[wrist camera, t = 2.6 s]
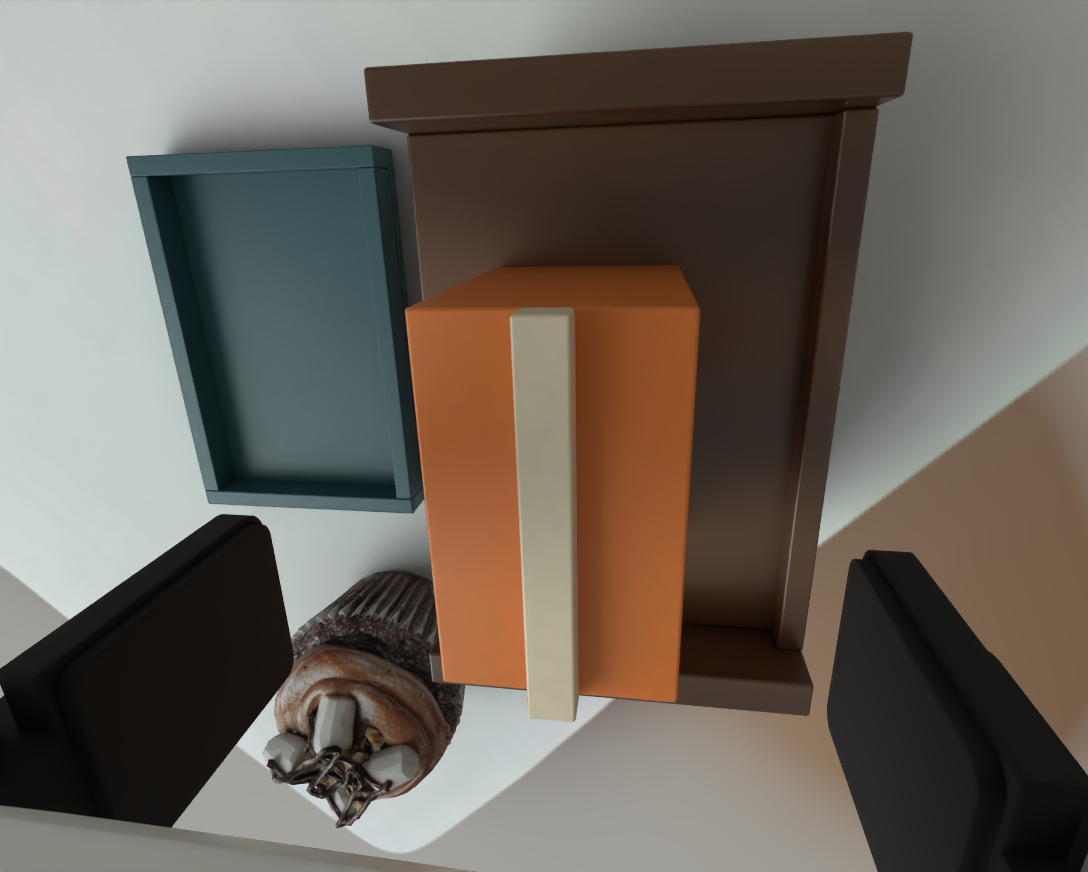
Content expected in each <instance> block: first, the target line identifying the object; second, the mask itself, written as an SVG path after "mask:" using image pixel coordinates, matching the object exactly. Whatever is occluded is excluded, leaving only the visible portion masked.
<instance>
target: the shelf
mask: <svg viewBox="0 0 1088 872" xmlns="http://www.w3.org/2000/svg"><path fill="white" fill-rule="evenodd" d="M912 39H913V34H912V33H911V32H895V33H880V34H865V35H850V36H835V37H820V38H804V39H789V40H774V41H759V42H744V43H729V44H713V45H698V46H683V47H668V48H653V49H638V50H622V51H607V52H592V53H577V54H562V55H547V56H531V57H516V58H501V59H486V60H471V61H456V62H440V63H425V64H410V65H395V66H380V67H367V68H365V69H364V75H365V84H366V93H367V102H368V111H369V120H370V122H371V123H372V124H375V125H379V126H382V127H386V128H389V129H393V130H396V131H400V132H403V133H407V134H410V135H408V136H407V143H408V154H409V165H410V175H411V186H412V197H413V207H414V218H415V229H416V239H417V250H418V261H419V271H420V282H421V293H422V301H423V300H426V299H428V298H430V297H433V296H435V295H437V294H439V293H442V292H444V291H446V290H448V289H451V288H453V287H455V286H457V285H460V284H462V283H464V282H466V281H469V280H471V279H473V278H475V277H478V276H480V275H482V274H484V273H487V272H489V271H491V270H494V269H496V268H498V267H539V266H610V265H678V266H679V268H680V270H681V272H682V274H683V276H684V278H685V280H686V282H687V284H688V286H689V288H690V290H691V292H692V294H693V296H694V298H695V300H696V302H697V304H698V306H699V308H700V324H699V341H698V358H697V375H696V392H695V409H694V426H693V443H692V460H691V477H690V494H689V511H688V528H687V545H686V562H685V579H684V596H683V613H682V630H681V647H680V664H679V681H678V698H677V701H676V702H663V701H652V700H641V699H630V698H619V697H608V696H597V695H585V694H579V695H582V696H594V697H605V698H616V699H627V700H639V701H649V702H661V703H671V704H682V705H693V706H704V707H715V708H726V709H737V710H749V711H760V712H771V713H781V714H793V715H804V716H807V715H809V712H810V706H811V699H812V693H813V684H812V680H811V678H810V675H809V672H808V669H807V666H806V664H805V660H804V657H803V654H802V649H803V642H804V635H805V628H806V621H807V614H808V607H809V600H810V593H811V586H812V579H813V572H814V565H815V558H816V550H817V544H818V537H819V530H820V523H821V515H822V508H823V501H824V494H825V487H826V480H827V473H828V466H829V459H830V452H831V445H832V438H833V431H834V424H835V417H836V410H837V402H838V395H839V388H840V381H841V374H842V367H843V360H844V353H845V346H846V339H847V332H848V325H849V318H850V311H851V304H852V297H853V290H854V282H855V275H856V268H857V261H858V254H859V247H860V240H861V233H862V226H863V219H864V212H865V205H866V198H867V191H868V184H869V177H870V170H871V162H872V155H873V148H874V141H875V134H876V127H877V120H878V113H879V110H878V108H877V107H876V106H879V105H881V104H884V103H886V102H888V101H891V100H893V99H896V98H898V97H900V96H902V95H903V94H904V91H905V85H906V78H907V72H908V65H909V59H910V52H911V46H912ZM429 657H430V666H431V675H432V681H433V682H439V683H450V684H461V685H472V686H483V687H494V688H505V689H516V690H527V689H519V688H508V687H497V686H486V685H475V684H463V683H452V682H445V681H444V680H443V672H442V663H441V653H440V643H439V634H438V637H437V639H436V641H435V643H434V645H433V647H432V649H431V651H430V653H429Z"/></svg>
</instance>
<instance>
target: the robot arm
mask: <svg viewBox="0 0 1088 872" xmlns="http://www.w3.org/2000/svg"><path fill="white" fill-rule="evenodd" d="M293 663H294V652H293V647H292V642H291V637H290V632H289V627H288V621H287V616H286V611H285V606H284V601H283V596H282V590H281V585H280V580H279V575H278V570H277V565H276V560H275V554H274V549H273V544H272V539H271V534H270V531H269V529H268V528H267V526H265V525H262V523H261V521H260V520H259V519H258V518H257V517H255V516H247V515H229V514H221V515H219V516H216V517H215V518H213V519H212V520H211V521H209V522H208V523H206V524H205V525H203V526H202V527H201V528H199V529H198V530H196V531H195V532H194V533H192V534H191V535H189V536H188V537H186V538H185V539H184V540H182V541H181V542H179V543H178V544H176V545H175V546H174V547H172V548H171V549H169V550H168V551H167V552H165V553H164V554H162V555H161V556H159V557H158V558H157V559H155V560H154V561H152V562H151V563H149V564H148V565H147V566H145V567H144V568H142V569H141V570H140V571H138V572H137V573H135V574H134V575H132V576H131V577H130V578H128V579H127V580H125V581H124V582H122V583H121V584H120V585H118V586H117V587H115V588H114V589H113V590H111V591H110V592H108V593H107V594H105V595H104V596H103V597H101V598H100V599H98V600H97V601H96V602H94V603H93V604H91V605H90V606H88V607H87V608H86V609H84V610H83V611H81V612H80V613H78V614H77V615H76V616H74V617H73V618H71V619H70V620H69V621H67V622H66V623H64V624H63V625H61V626H60V627H59V628H57V629H56V630H55V631H53V632H51V633H50V634H49V635H47V636H46V637H44V638H43V639H42V640H40V641H39V642H37V643H36V644H34V645H33V646H32V647H30V648H29V649H28V650H26V651H24V652H23V653H22V654H20V655H19V656H17V657H16V658H15V659H14V660H12V661H10V662H9V663H8V664H6V665H5V666H3V667H2V668H0V685H1V688H2V690H3V693H4V696H3V697H2V698H0V872H475V871H468V870H461V869H455V868H448V867H441V866H434V865H427V864H420V863H414V862H407V861H400V860H393V859H386V858H378V857H373V856H366V855H359V854H351V853H345V852H337V851H331V850H324V849H317V848H310V847H303V846H296V845H290V844H283V843H276V842H269V841H262V840H255V839H248V838H240V837H233V836H226V835H219V834H212V833H205V832H198V831H190V830H182V829H176V828H171V827H172V826H173V825H174V823H175V822H176V821H177V820H178V818H179V817H180V816H181V814H182V813H183V812H184V811H185V809H186V808H187V807H188V805H189V804H190V803H191V802H192V800H193V799H194V798H195V796H196V795H197V794H198V793H199V791H200V790H201V789H202V787H203V786H204V785H205V784H206V782H207V781H208V780H209V778H210V777H211V776H212V775H213V773H214V772H215V771H216V769H217V768H218V767H219V766H220V764H221V763H222V762H223V760H224V759H225V758H226V756H227V755H228V754H229V753H230V751H231V750H232V749H233V747H234V746H235V745H236V744H237V742H238V741H239V740H240V739H241V737H242V736H243V735H244V733H245V732H246V731H247V730H248V728H249V727H250V726H251V724H252V723H253V722H254V721H255V719H256V718H257V717H258V715H259V714H260V713H261V712H262V710H263V709H264V708H265V706H266V705H267V704H268V703H269V701H270V700H271V699H272V697H273V696H274V695H275V694H276V692H277V691H278V690H279V688H280V687H281V686H282V685H283V683H284V682H285V681H286V679H287V678H288V677H289V675H290V673H291V670H292V667H293ZM827 719H828V726H829V730H830V733H831V736H832V739H833V742H834V745H835V748H836V751H837V754H838V757H839V760H840V763H841V766H842V769H843V771H844V774H845V777H846V780H847V783H848V786H849V789H850V792H851V795H852V798H853V801H854V804H855V806H856V810H857V812H858V815H859V818H860V821H861V824H862V827H863V830H864V833H865V836H866V839H867V842H868V845H869V848H870V850H871V853H872V856H873V859H874V862H875V865H876V868H877V871H878V872H1088V775H1087V774H1086V773H1085V771H1084V770H1083V769H1082V767H1081V766H1080V765H1079V763H1078V762H1077V761H1076V760H1075V758H1074V757H1073V756H1072V754H1071V753H1070V752H1069V751H1068V749H1067V748H1066V747H1065V745H1064V744H1063V743H1062V742H1061V740H1060V739H1059V738H1058V736H1057V735H1056V734H1055V732H1054V731H1053V730H1052V728H1051V727H1050V726H1049V725H1048V723H1047V722H1046V721H1045V719H1044V718H1043V717H1042V715H1041V714H1040V713H1039V712H1038V710H1037V709H1036V708H1035V706H1034V705H1033V704H1032V702H1031V701H1030V700H1029V699H1028V697H1027V696H1026V695H1025V693H1024V692H1023V691H1022V690H1021V688H1020V687H1019V686H1018V684H1017V683H1016V682H1015V680H1014V679H1013V678H1012V677H1011V675H1010V674H1009V673H1008V671H1007V670H1006V669H1005V668H1004V667H1003V665H1002V664H1001V662H1000V661H999V660H998V659H997V658H996V657H995V656H994V655H993V654H992V653H991V652H988V651H987V649H986V648H985V647H984V646H983V644H982V643H981V642H980V640H979V639H978V638H977V636H976V635H975V634H974V632H973V631H972V630H971V628H970V627H969V626H968V625H967V623H966V622H965V621H964V619H963V618H962V617H961V615H960V614H959V613H958V611H957V610H956V609H955V608H954V606H953V605H952V604H951V602H950V601H949V600H948V598H947V597H946V596H945V594H944V593H943V592H942V590H941V589H940V588H939V587H938V585H937V584H936V582H935V581H934V580H933V579H932V578H931V576H930V575H929V574H928V572H927V571H926V570H925V568H924V567H923V566H922V564H921V563H920V561H919V560H918V559H917V558H916V557H915V555H914V554H913V553H910V552H897V551H878V550H868V551H867V552H865V555H864V556H863V559H853V560H852V561H851V563H850V567H849V571H848V578H847V584H846V590H845V597H844V603H843V610H842V616H841V622H840V628H839V634H838V640H837V646H836V653H835V659H834V665H833V672H832V678H831V684H830V690H829V697H828V703H827Z"/></svg>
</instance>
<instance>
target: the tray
mask: <svg viewBox="0 0 1088 872" xmlns="http://www.w3.org/2000/svg"><path fill="white" fill-rule="evenodd" d="M126 159H127V163H128V167H129V171H130V175H131V176H132V177H131V179H132V184H133V188H134V192H135V196H136V201H137V205H138V209H139V213H140V217H141V222H142V226H143V230H144V234H145V238H146V243H147V247H148V251H149V255H150V260H151V264H152V268H153V272H154V276H155V281H156V285H157V289H158V293H159V297H160V302H161V306H162V310H163V314H164V319H165V323H166V327H167V331H168V335H169V340H170V344H171V348H172V352H173V356H174V361H175V365H176V369H177V373H178V377H179V382H180V386H181V390H182V394H183V399H184V403H185V407H186V411H187V415H188V420H189V424H190V428H191V432H192V436H193V441H194V445H195V449H196V453H197V458H198V462H199V466H200V470H201V474H202V479H203V483H204V487H205V490H206V494H207V499H208V503H209V504H227V505H248V506H268V507H289V508H310V509H331V510H352V511H372V512H393V513H414V512H415V510H416V509H417V508H418V506H419V505H420V504H421V502H422V501H423V500H424V489H423V480H422V470H421V461H420V451H419V441H418V432H417V422H416V412H415V403H414V393H413V384H412V374H411V364H410V355H409V345H408V335H407V326H406V316H405V310H406V308H407V298H406V288H405V278H404V269H403V259H402V249H401V239H400V230H399V220H398V210H397V200H396V190H395V181H394V171H393V161H392V151H391V149H387V148H383V147H378V146H373V145H366V146H344V147H322V148H300V149H279V150H257V151H235V152H213V153H191V154H170V155H148V156H127V157H126Z"/></svg>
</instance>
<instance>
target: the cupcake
mask: <svg viewBox="0 0 1088 872" xmlns="http://www.w3.org/2000/svg"><path fill="white" fill-rule="evenodd" d="M437 637H438V624H437V615H436V605H435V595H434V586H433V583H432V582H431V581H429V580H427V579H424V578H422V577H418V576H415V575H412V574H409V573H406V572H383V573H376V574H373V575H372V576H370V577H368V578H366V579H364V580H360V581H359V582H358V583H356V584H355V585H354V586H352V587H351V588H350V589H349V590H348V591H346V592H345V593H344V594H343V595H342V596H340V597H339V598H338V599H337V600H336V601H334V602H333V603H332V604H330V605H329V606H328V607H326V608H325V609H324V610H323V611H321V612H320V613H318V614H317V615H315V616H314V617H313V618H312V619H310V620H309V621H308V622H307V623H305V624H304V625H303V626H301V627H300V628H299V629H298V631H297V633H295V634H294V635H293V637H292V638H291V640H292V641H291V642H292V647H293V652H294V663H293V667H292V670H291V673H290V675H289V677H288V678H287V679H286V681H285V682H284V683H283V685H282V686H281V687H280V689H279V691H278V694H277V696H276V699H275V710H274V714H275V719H276V723H277V728H278V731H279V733H280V734H279V735H277V736H275V737H274V738H272V739H271V740H270V741H268V743H267V745H266V747H265V749H264V751H263V756H264V760H265V763H266V765H267V767H269V768H270V770H271V773H272V776H273V777H272V779H273V781H274V782H275V783H279V784H281V783H283V782H285V783H288V784H291V785H297V784H305V783H309V786H308V788H307V790H306V791H307V792H308V793H309V794H310V795H312V796H315V797H317V798H320V799H323V798H326V799H327V801H328V803H329V807H330V812H331V816H332V817H334V818H335V819H337V820H338V821H337V823H336V828H339V827H343V826H346V825H348V826H351V825H352V824H353V822H354V821H355V820H357V819H359V818H360V817H361V815H362V814H363V812H364V811H365V810H366V809H367V807H368V805H369V804H370V802H371V801H374V800H377V799H384V798H392V797H397V796H400V795H402V794H405V793H407V792H409V791H410V790H411V789H413V788H414V787H415V786H417V785H418V784H419V783H420V782H421V781H422V780H423V779H424V778H425V777H426V776H427V775H428V774H429V773H430V772H431V771H432V770H433V769H434V767H435V766H436V764H437V763H438V762H439V760H440V759H441V757H442V756H443V754H444V752H445V750H446V748H447V746H448V745H449V744H450V743H451V742H450V741H451V739H452V737H453V735H454V733H455V731H456V727H457V725H458V724H459V723H460V716H461V715H462V708H463V700H464V691H465V685H461V684H450V683H439V682H433V681H432V675H431V666H430V657H429V653H430V651H431V649H432V647H433V645H434V643H435V641H436V639H437ZM315 786H316V787H317V788H318V789H316V788H315Z"/></svg>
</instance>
